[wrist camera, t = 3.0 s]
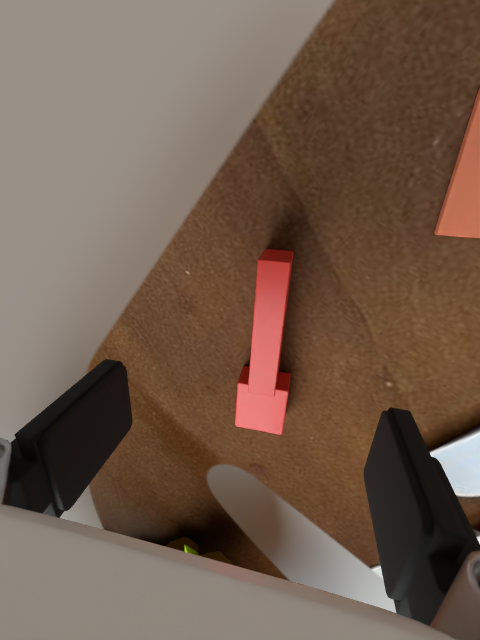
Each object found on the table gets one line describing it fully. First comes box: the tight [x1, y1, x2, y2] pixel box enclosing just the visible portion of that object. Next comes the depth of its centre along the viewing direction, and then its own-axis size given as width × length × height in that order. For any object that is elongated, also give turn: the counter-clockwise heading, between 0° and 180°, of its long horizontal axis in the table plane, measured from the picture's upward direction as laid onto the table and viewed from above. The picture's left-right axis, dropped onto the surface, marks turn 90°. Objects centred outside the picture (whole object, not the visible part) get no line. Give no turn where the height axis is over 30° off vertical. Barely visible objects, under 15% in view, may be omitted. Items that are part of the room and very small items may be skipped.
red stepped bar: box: [235, 249, 294, 435], centre depth 18 cm, size 12×3×3 cm, turn 177°
